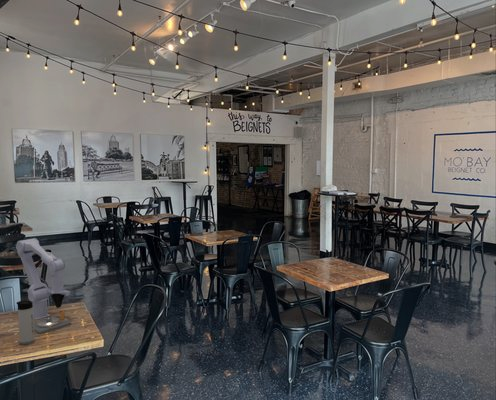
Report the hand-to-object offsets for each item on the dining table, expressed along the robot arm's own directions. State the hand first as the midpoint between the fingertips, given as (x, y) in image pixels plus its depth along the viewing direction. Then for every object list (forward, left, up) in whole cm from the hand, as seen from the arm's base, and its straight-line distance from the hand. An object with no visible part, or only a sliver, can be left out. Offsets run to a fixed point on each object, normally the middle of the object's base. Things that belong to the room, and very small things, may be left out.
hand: (58, 307), depth 212 cm
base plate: (+2, -6, -8) cm, 10 cm away
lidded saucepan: (+3, -5, -6) cm, 9 cm away
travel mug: (+15, -22, -8) cm, 28 cm away
